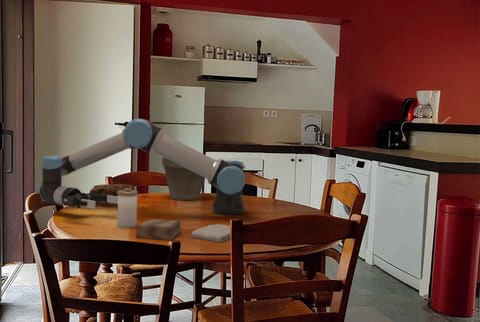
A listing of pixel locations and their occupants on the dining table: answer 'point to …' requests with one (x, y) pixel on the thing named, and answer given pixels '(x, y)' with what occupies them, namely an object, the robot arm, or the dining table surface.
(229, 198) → the robot arm
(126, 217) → the canister
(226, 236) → the washcloth
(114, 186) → the bread
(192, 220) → the dining table surface
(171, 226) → the base block
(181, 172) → the plant pot
